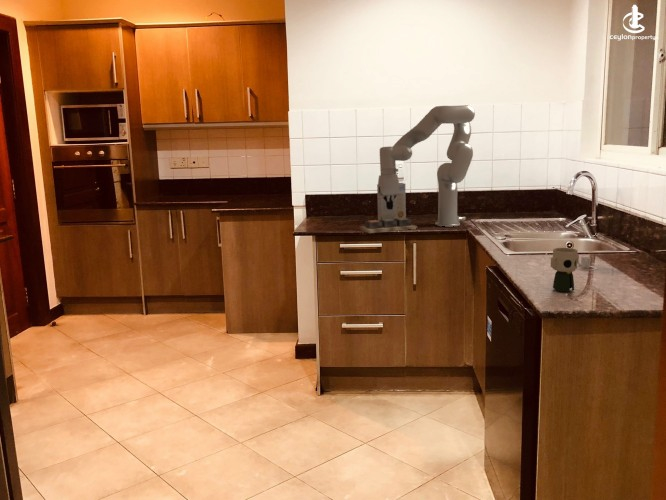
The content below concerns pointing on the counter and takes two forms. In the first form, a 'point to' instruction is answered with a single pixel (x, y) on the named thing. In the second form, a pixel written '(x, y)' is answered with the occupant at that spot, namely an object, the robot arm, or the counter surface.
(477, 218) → the counter surface
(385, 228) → the button board
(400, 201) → the cracker box
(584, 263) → the teacup and saucer
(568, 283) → the beige and green figure
